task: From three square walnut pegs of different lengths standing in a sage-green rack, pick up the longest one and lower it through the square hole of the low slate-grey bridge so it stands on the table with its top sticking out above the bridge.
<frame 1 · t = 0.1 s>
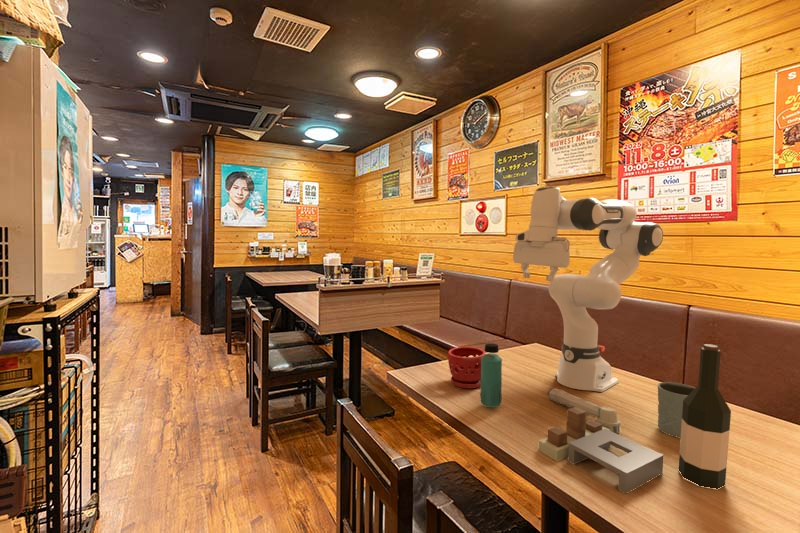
hand: (537, 279, 131), 39 cm above the table, tool pointing down, fingers open, 8 cm apart
pin short: (592, 438, 107), resting in peg rack
peg rack: (575, 444, 103), on the table
hole bridge: (613, 467, 93), on the table
pin medium: (556, 451, 100), resting in peg rack
beige long piece: (581, 416, 120), on the table
plant pot: (466, 384, 144), on the table
grey cup: (677, 431, 111), on the table
beverage bottle: (490, 408, 125), on the table
wine bottle: (700, 479, 90), on the table
pin long: (575, 427, 103), in the peg rack
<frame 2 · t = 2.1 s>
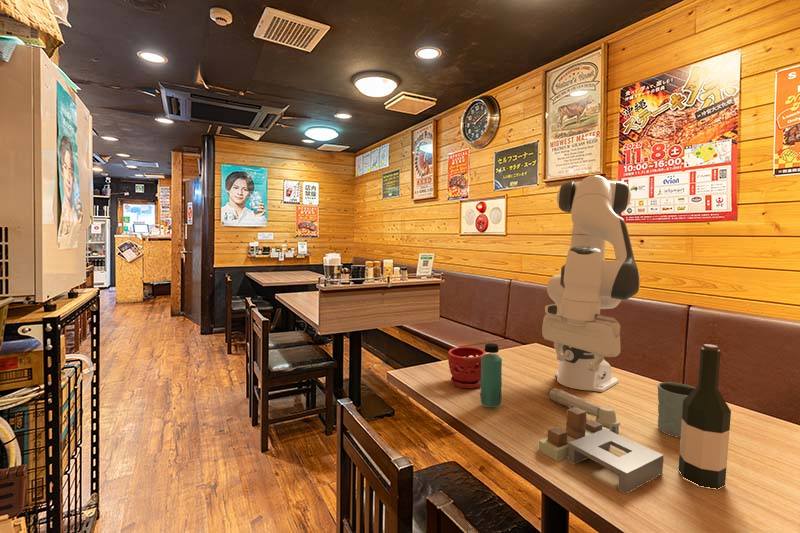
hand: (576, 365, 102), 21 cm above the table, tool pointing down, fingers open, 8 cm apart
nothing on the table moved.
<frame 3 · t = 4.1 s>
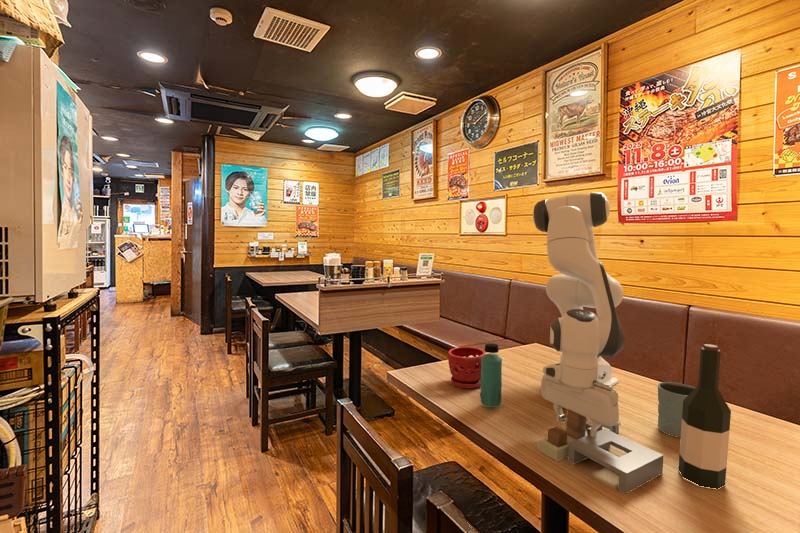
hand: (576, 428, 103), 4 cm above the table, tool pointing down, fingers open, 7 cm apart
nothing on the table moved.
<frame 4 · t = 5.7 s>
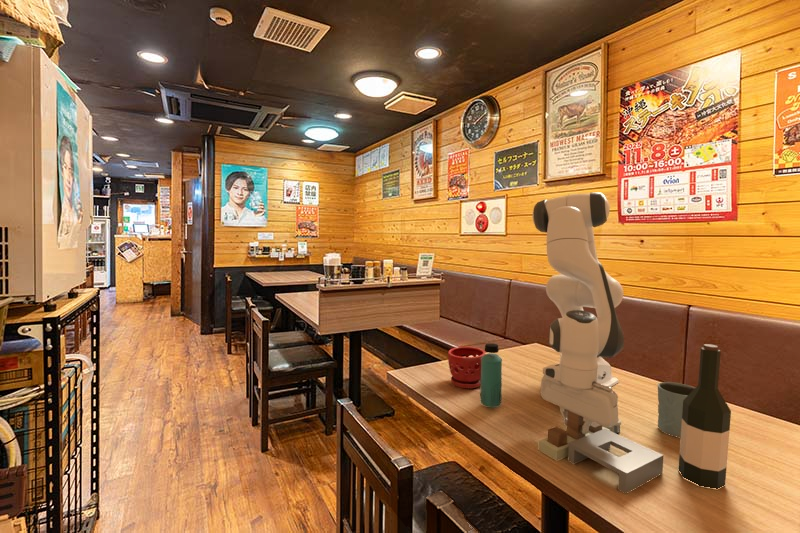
hand: (575, 428, 103), 4 cm above the table, tool pointing down, fingers closed on pin long, 3 cm apart
pin long: (576, 427, 103), in the peg rack, touching gripper
everything else where it was.
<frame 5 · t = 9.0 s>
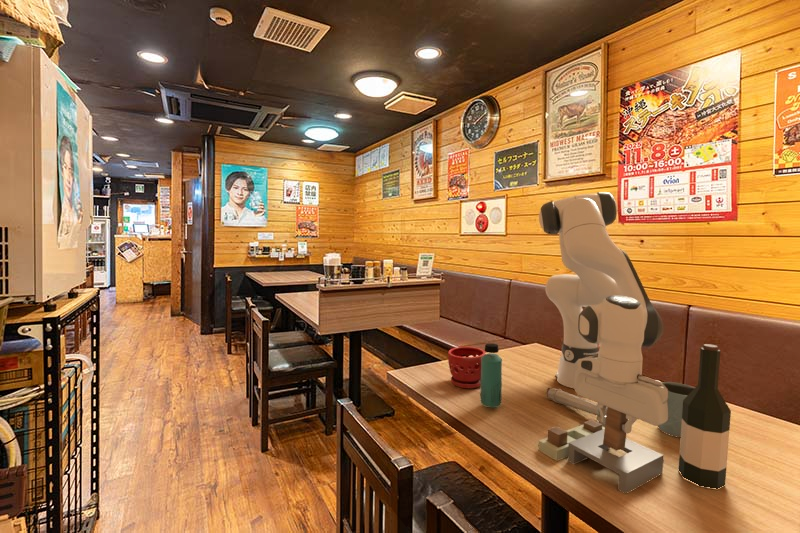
hand: (615, 427, 93), 10 cm above the table, tool pointing down, fingers closed on pin long, 3 cm apart
pin long: (616, 426, 93), point 10 cm above the table, tilted 6°, touching gripper
everything else where it was.
when the fingers open (6 cm above the table, at t = 10.1 s): pin long drops 2 cm, resting in hole bridge.
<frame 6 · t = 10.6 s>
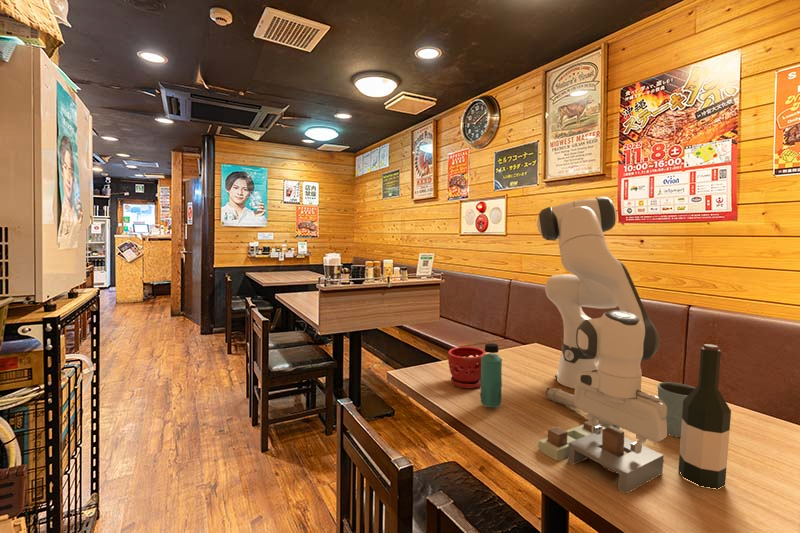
hand: (615, 442, 93), 6 cm above the table, tool pointing down, fingers open, 8 cm apart
pin long: (612, 449, 93), in the hole bridge
everything else where it was.
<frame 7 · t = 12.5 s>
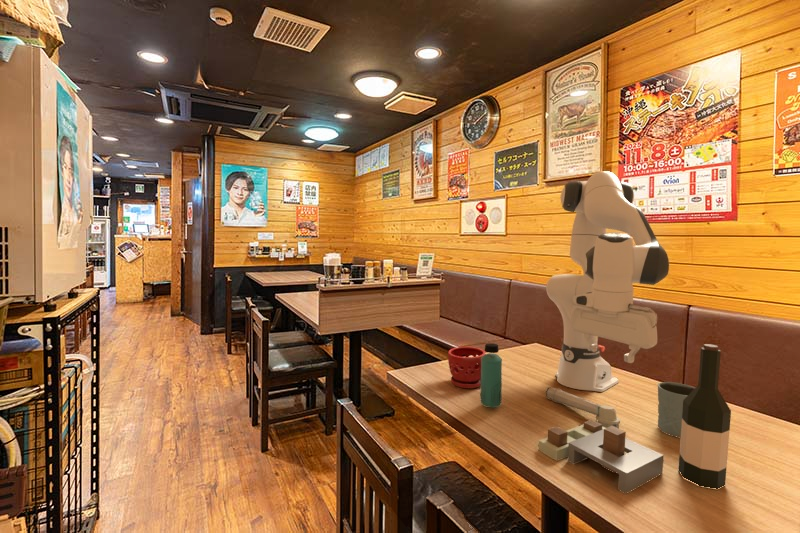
hand: (609, 356, 99), 24 cm above the table, tool pointing down, fingers open, 8 cm apart
nothing on the table moved.
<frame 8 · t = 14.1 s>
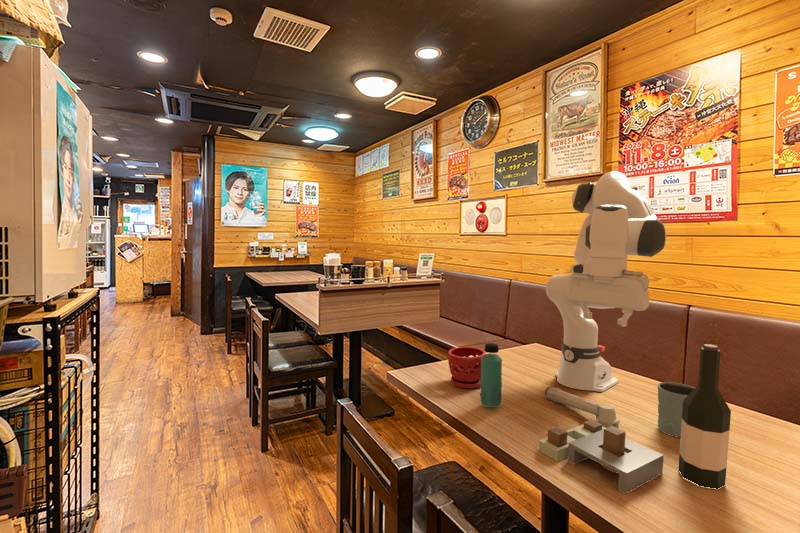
hand: (604, 322, 104), 31 cm above the table, tool pointing down, fingers open, 8 cm apart
at the end: pin long 0.4 cm off-centre on the hole bridge, point 4.5 cm above the hole bridge's base; pin long tilted 0°; the gripper is holding nothing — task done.
